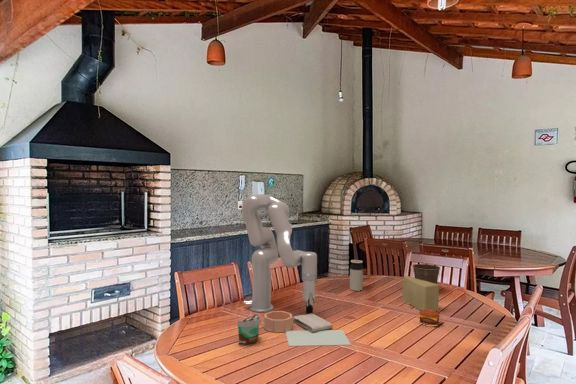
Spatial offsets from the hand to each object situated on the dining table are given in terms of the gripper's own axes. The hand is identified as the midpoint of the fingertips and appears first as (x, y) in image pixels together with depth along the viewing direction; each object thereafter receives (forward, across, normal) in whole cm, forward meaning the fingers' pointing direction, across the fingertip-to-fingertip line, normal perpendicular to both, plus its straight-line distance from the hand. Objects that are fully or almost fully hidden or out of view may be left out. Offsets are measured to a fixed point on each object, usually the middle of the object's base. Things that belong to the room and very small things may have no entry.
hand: (309, 313), depth 199 cm
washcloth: (+2, +12, 0) cm, 12 cm away
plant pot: (+3, -41, +78) cm, 89 cm away
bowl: (+1, +14, -16) cm, 21 cm away
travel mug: (+2, -48, +36) cm, 61 cm away
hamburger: (+3, +12, +56) cm, 58 cm away
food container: (+2, +30, -28) cm, 41 cm away
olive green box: (+3, -14, +61) cm, 63 cm away
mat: (+2, +27, 0) cm, 27 cm away
